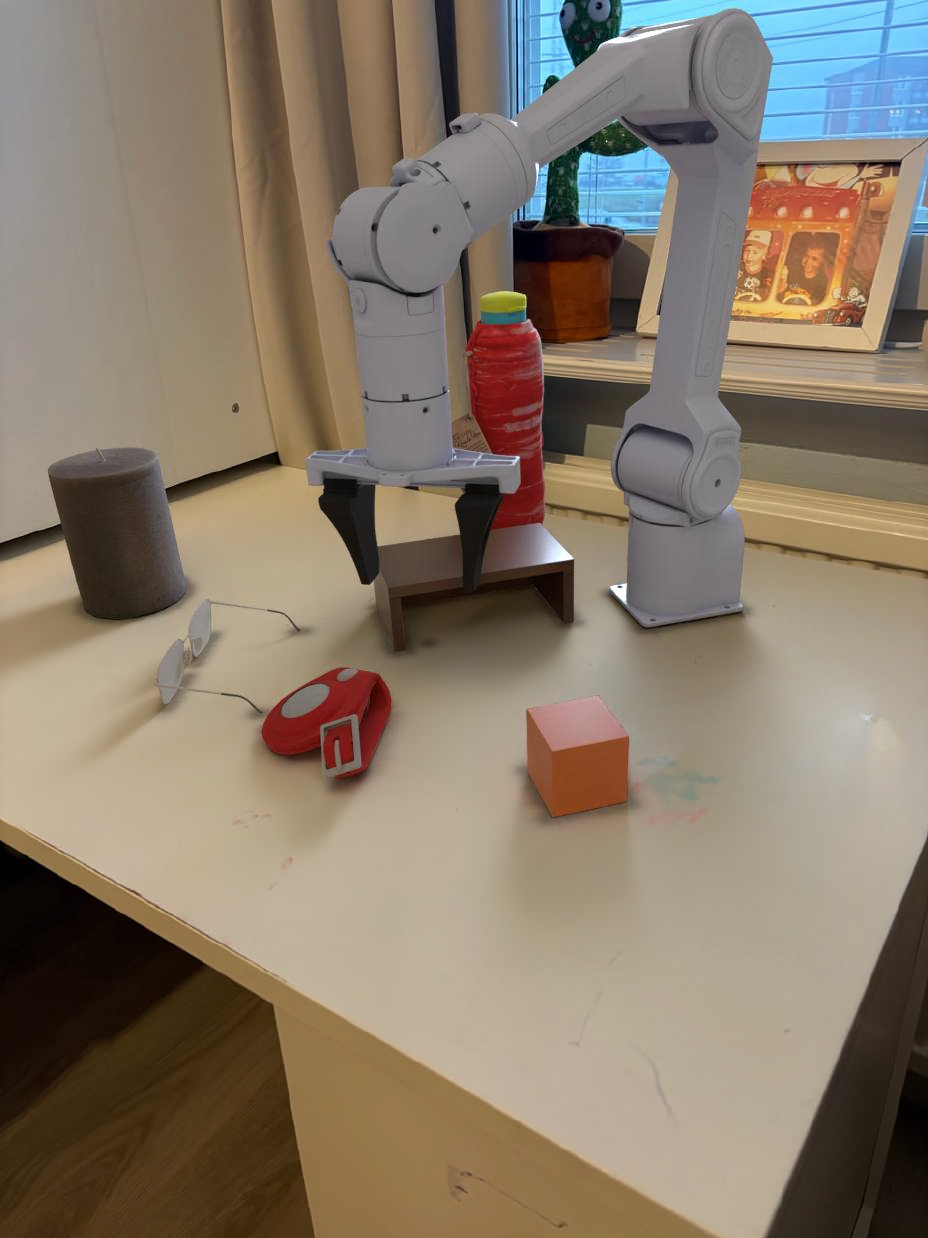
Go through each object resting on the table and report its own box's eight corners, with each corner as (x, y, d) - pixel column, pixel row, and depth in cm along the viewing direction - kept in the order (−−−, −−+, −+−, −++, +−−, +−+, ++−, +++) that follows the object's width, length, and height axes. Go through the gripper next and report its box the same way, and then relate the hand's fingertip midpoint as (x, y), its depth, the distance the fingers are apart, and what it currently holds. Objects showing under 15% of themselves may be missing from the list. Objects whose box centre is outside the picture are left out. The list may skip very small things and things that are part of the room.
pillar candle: (107, 630, 82) (65, 471, 75) (68, 598, 89) (26, 449, 82) (205, 595, 88) (174, 444, 81) (161, 567, 94) (130, 426, 87)
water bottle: (474, 570, 90) (461, 306, 78) (431, 546, 96) (413, 298, 84) (567, 539, 96) (568, 290, 84) (521, 518, 101) (516, 283, 90)
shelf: (540, 581, 87) (540, 522, 84) (574, 621, 79) (574, 558, 76) (376, 607, 84) (370, 547, 81) (394, 652, 76) (388, 587, 73)
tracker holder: (228, 727, 65) (324, 644, 70) (258, 773, 67) (349, 688, 72) (328, 758, 56) (429, 660, 61) (359, 809, 58) (454, 710, 63)
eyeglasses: (213, 630, 81) (209, 590, 79) (302, 635, 81) (299, 595, 79) (157, 717, 69) (150, 672, 67) (262, 723, 68) (258, 678, 66)
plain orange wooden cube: (597, 757, 61) (598, 694, 59) (627, 802, 57) (630, 736, 55) (527, 771, 60) (525, 708, 58) (552, 818, 56) (551, 752, 54)
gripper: (275, 405, 57) (304, 599, 63) (501, 409, 53) (507, 614, 59) (319, 379, 63) (341, 559, 69) (525, 381, 59) (528, 570, 65)
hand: (420, 582), depth 65 cm, fingers open, 7 cm apart
